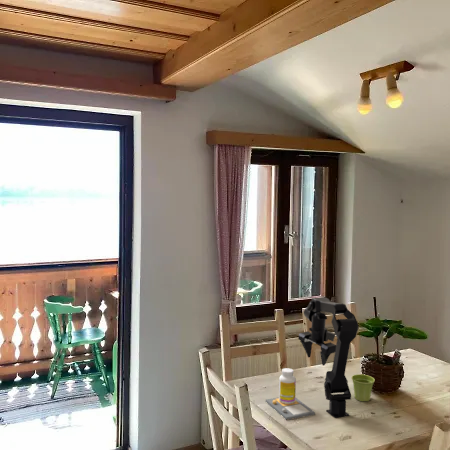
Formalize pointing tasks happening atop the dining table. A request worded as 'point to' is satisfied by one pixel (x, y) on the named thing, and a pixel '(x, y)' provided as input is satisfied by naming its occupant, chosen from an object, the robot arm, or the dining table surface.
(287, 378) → the supplement bottle
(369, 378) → the plant pot
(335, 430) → the dining table surface
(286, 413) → the board
